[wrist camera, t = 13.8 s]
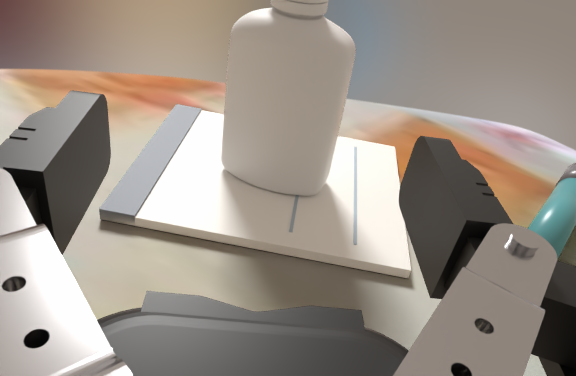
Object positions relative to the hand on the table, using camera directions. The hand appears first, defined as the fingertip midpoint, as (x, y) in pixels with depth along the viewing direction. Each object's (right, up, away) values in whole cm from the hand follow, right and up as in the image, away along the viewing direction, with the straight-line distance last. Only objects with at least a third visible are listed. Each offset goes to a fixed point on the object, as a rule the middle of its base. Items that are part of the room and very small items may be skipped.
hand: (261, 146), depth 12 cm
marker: (+15, -3, +14) cm, 21 cm away
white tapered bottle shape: (0, 0, +13) cm, 13 cm away
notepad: (0, -1, +13) cm, 13 cm away
